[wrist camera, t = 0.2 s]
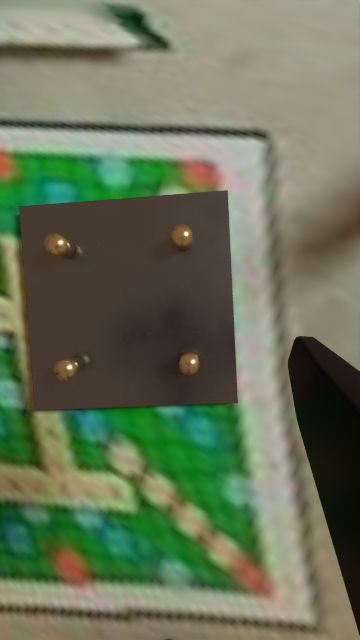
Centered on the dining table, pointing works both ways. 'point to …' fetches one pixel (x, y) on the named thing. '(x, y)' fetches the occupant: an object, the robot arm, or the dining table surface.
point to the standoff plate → (130, 301)
